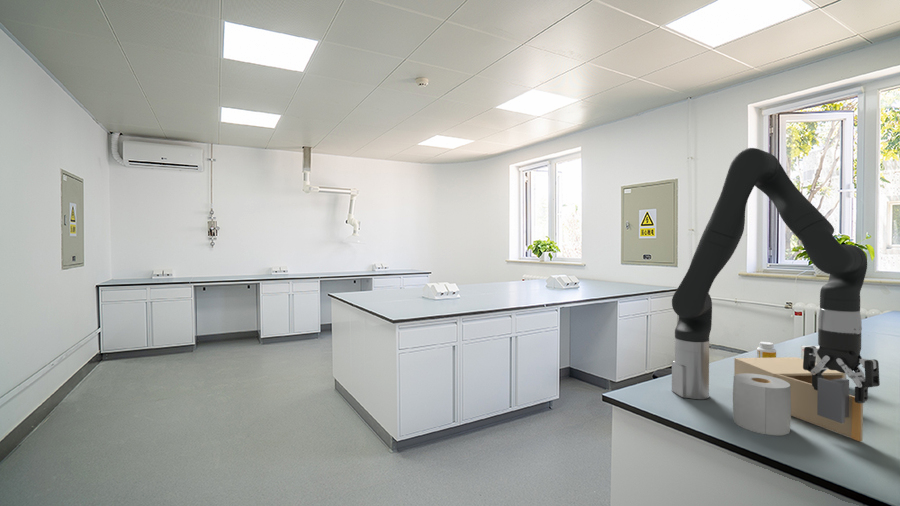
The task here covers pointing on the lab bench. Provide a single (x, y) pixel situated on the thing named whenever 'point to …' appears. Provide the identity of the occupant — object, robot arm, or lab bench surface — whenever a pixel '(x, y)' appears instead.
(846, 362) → the robot arm
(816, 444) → the lab bench surface
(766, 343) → the supplement bottle
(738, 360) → the carton
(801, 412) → the carton flap
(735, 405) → the toilet paper roll
